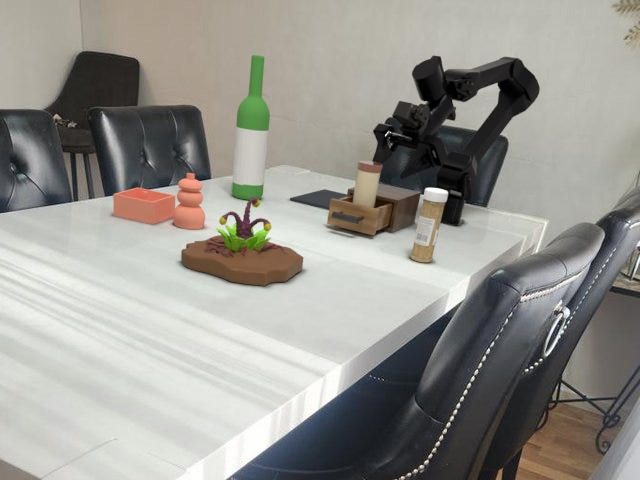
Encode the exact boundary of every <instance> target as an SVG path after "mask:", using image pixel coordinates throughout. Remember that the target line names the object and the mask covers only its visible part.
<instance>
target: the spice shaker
mask: <svg viewBox="0 0 640 480" xmlns="http://www.w3.org/2000/svg"><path fill="white" fill-rule="evenodd" d="M382 170H383V163H382V164H381V163H377V162H372V160H359V161H358V163H357V171H356V173H357V174H356V178H355V185H354V187H355V190H354V196H353V202H352V203H355V204H359V205H364V206H368V207H372V208H374V206H375V200H376V195H377V190H378V184H379V183H380V178H381V173H382Z"/></svg>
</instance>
